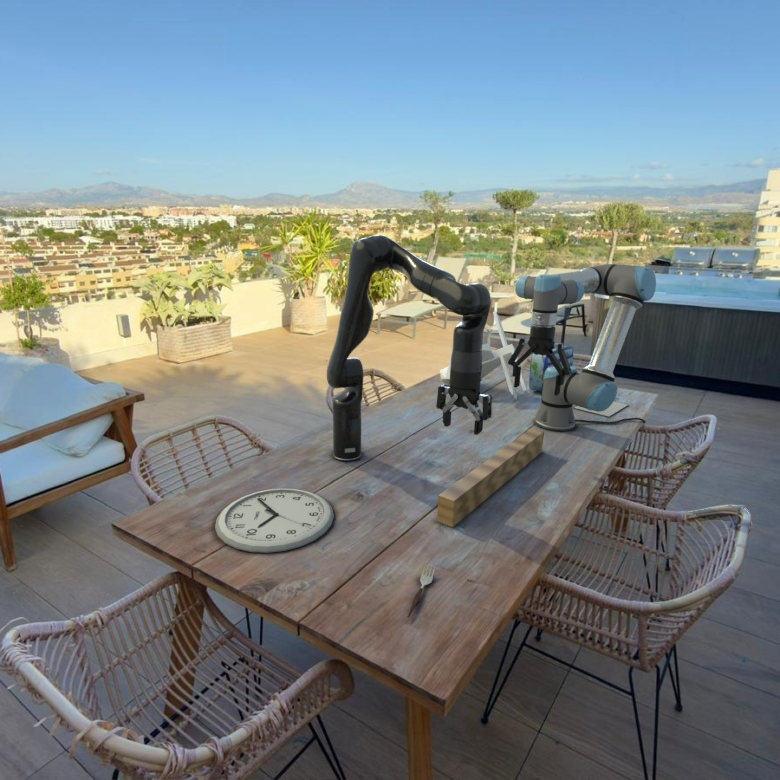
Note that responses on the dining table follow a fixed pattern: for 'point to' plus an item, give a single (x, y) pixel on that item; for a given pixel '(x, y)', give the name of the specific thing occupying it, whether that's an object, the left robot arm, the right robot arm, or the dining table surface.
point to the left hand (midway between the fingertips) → (462, 429)
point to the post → (488, 478)
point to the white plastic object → (494, 361)
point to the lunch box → (544, 367)
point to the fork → (424, 581)
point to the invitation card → (609, 411)
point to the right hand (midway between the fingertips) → (536, 390)
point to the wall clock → (274, 520)
